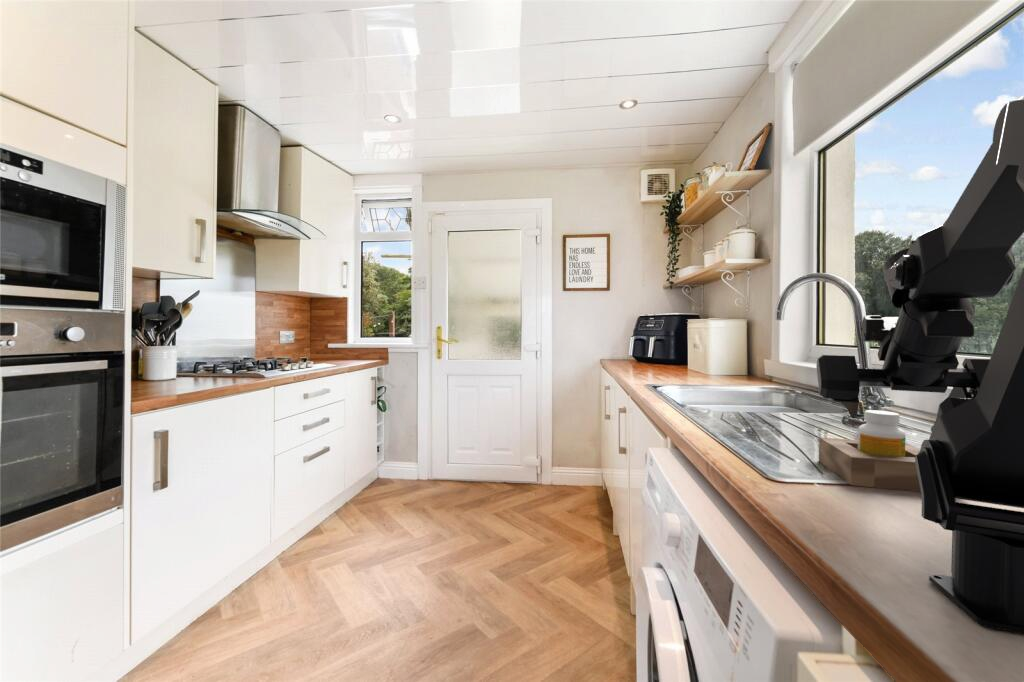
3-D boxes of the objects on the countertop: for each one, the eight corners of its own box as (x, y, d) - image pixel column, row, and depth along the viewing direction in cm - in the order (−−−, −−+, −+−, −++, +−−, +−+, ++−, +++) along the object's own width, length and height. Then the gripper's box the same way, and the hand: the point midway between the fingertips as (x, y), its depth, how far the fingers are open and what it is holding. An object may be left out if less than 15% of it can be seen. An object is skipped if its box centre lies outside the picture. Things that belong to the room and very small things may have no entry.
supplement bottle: (910, 485, 61) (912, 417, 60) (862, 479, 63) (864, 413, 63) (897, 474, 65) (898, 410, 65) (853, 469, 68) (854, 407, 68)
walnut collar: (958, 495, 57) (959, 465, 57) (851, 485, 60) (851, 457, 60) (906, 468, 68) (907, 443, 68) (818, 461, 72) (819, 437, 72)
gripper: (1017, 290, 49) (971, 377, 59) (819, 295, 58) (808, 371, 68) (1058, 361, 43) (999, 447, 52) (828, 355, 52) (813, 429, 61)
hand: (894, 418), depth 59 cm, fingers open, 9 cm apart
